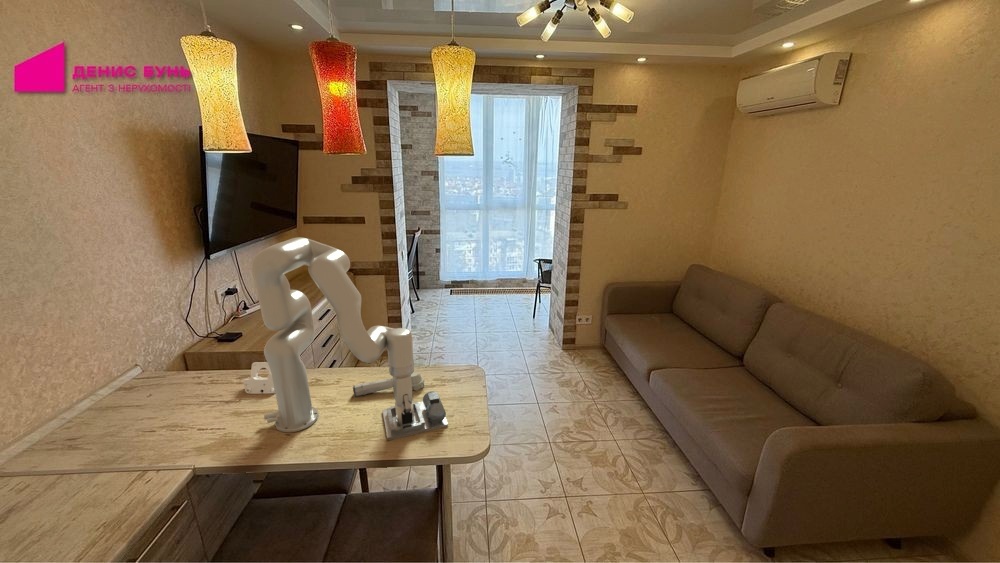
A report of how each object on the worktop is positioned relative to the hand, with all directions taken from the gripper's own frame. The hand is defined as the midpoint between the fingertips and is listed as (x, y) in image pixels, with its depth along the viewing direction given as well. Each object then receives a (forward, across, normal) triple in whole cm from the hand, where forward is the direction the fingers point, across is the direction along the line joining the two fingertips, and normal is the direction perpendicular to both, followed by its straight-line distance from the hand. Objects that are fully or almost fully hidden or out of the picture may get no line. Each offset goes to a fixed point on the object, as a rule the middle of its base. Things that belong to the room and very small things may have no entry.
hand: (405, 413), depth 127 cm
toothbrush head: (+4, -21, -3) cm, 22 cm away
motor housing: (+3, -1, +3) cm, 5 cm away
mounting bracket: (+4, -40, -46) cm, 61 cm away
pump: (+2, 0, 0) cm, 2 cm away
